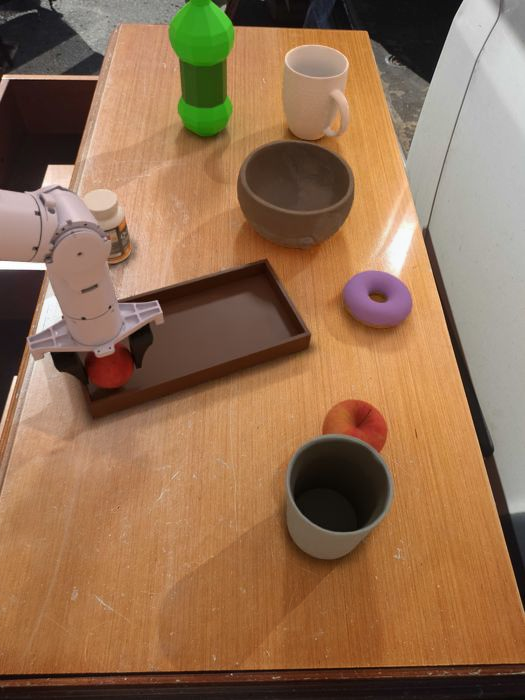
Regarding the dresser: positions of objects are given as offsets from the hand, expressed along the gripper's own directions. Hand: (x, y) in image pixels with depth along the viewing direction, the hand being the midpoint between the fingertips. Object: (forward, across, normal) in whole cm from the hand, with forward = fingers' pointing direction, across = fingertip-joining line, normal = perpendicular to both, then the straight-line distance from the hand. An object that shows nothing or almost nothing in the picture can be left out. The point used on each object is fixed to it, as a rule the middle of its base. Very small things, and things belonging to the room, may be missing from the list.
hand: (110, 370), depth 68 cm
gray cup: (+3, +17, -26) cm, 31 cm away
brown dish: (+3, +11, +3) cm, 12 cm away
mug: (+3, +48, +40) cm, 62 cm away
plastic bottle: (+3, +30, +48) cm, 56 cm away
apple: (+3, +24, -19) cm, 30 cm away
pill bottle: (+3, +6, +23) cm, 24 cm away
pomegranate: (+3, 0, 0) cm, 3 cm away
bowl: (+3, +34, +19) cm, 39 cm away
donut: (+3, +38, -1) cm, 38 cm away
